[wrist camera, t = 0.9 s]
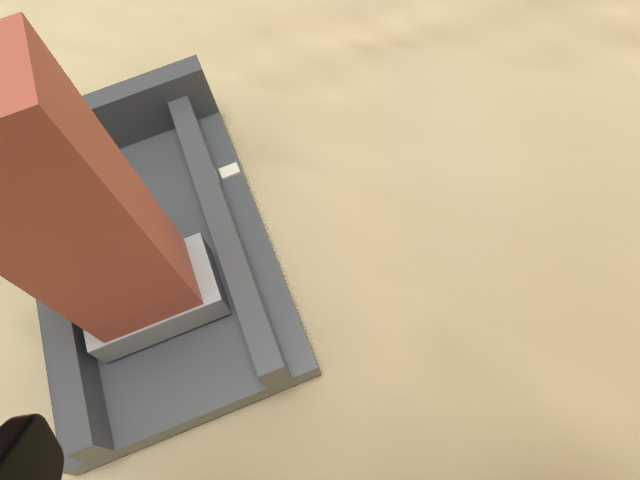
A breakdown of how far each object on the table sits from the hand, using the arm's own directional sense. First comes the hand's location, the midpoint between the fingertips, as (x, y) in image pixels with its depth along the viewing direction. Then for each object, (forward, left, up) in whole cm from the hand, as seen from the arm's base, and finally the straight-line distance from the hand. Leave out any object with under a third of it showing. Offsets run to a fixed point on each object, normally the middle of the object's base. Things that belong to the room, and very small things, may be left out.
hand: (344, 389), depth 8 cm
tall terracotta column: (+2, +11, -13) cm, 17 cm away
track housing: (+3, +13, -15) cm, 19 cm away
